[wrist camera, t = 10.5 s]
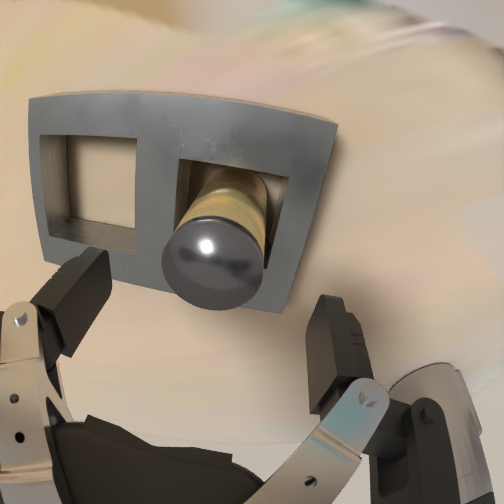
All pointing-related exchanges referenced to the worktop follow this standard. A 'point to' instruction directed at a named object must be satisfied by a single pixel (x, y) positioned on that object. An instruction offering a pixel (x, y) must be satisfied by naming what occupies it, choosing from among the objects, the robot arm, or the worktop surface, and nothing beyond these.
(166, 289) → the grey fitting block
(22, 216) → the worktop surface
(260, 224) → the gold and grey cylinder
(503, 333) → the worktop surface
